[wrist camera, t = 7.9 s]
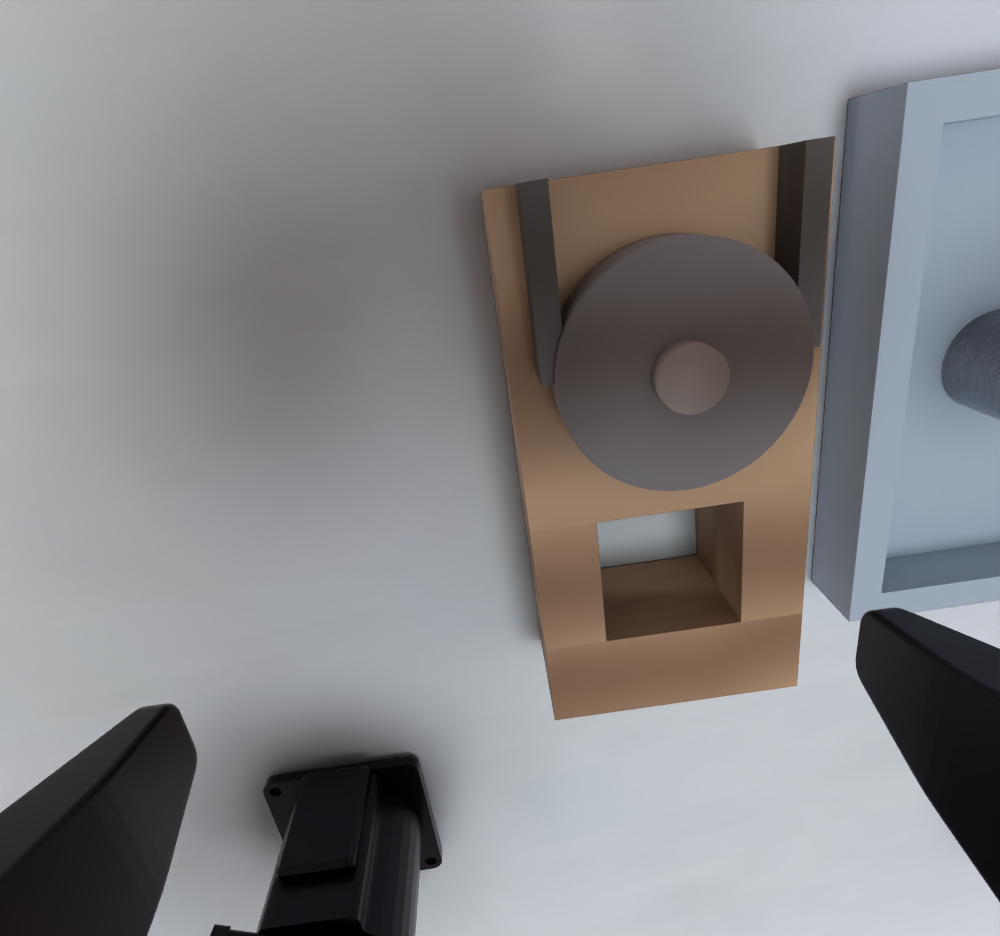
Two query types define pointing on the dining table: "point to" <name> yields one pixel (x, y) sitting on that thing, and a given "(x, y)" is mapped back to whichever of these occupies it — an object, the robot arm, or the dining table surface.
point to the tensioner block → (666, 413)
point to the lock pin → (975, 365)
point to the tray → (911, 354)
